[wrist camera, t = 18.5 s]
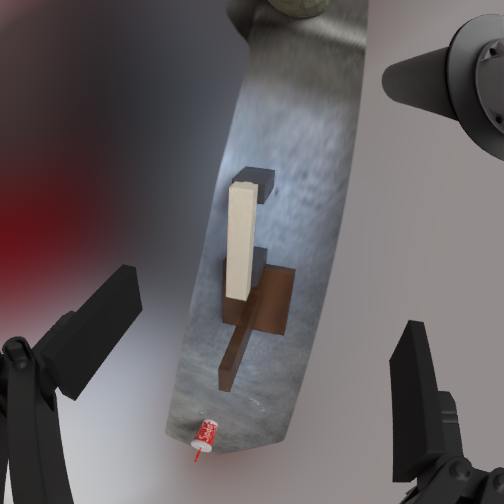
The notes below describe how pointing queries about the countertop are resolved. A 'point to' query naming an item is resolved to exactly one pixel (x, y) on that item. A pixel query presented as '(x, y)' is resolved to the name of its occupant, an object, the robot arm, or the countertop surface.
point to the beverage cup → (205, 436)
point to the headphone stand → (254, 315)
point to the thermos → (301, 7)
